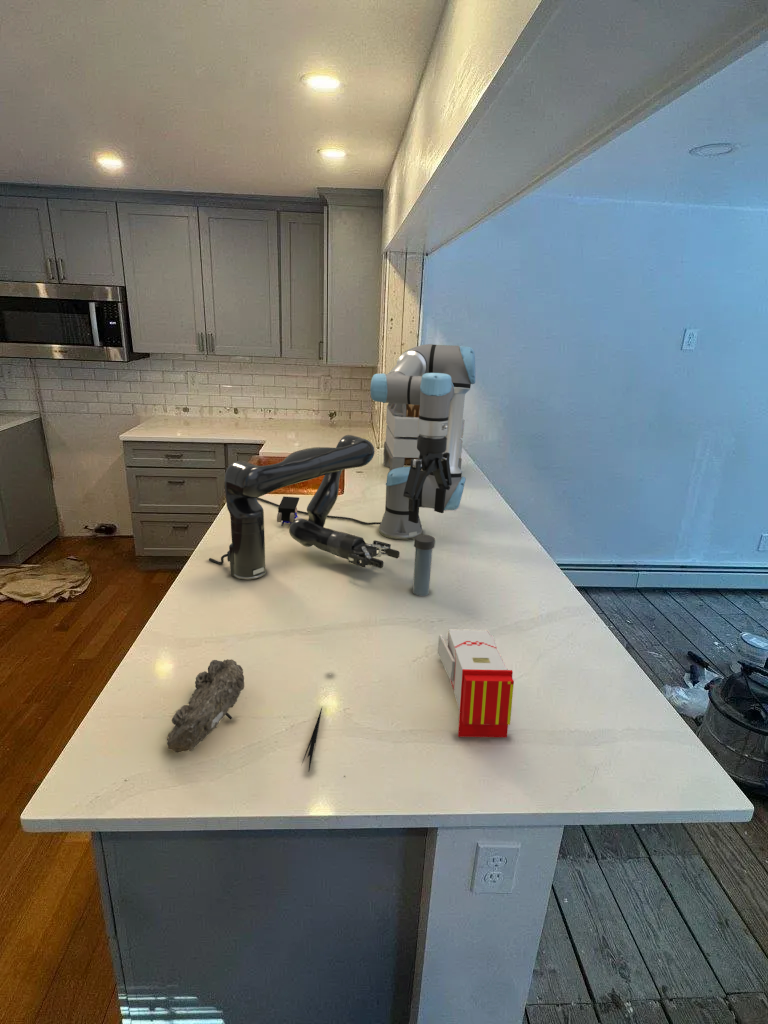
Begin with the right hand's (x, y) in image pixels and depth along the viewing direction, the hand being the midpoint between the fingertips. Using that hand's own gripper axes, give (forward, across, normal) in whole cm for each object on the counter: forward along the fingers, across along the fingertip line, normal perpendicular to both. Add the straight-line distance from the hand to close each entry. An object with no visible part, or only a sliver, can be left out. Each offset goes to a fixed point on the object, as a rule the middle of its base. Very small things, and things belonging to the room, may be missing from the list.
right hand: (426, 516), depth 152 cm
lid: (+7, 0, 0) cm, 7 cm away
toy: (+23, -28, -35) cm, 50 cm away
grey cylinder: (+23, 0, 0) cm, 23 cm away
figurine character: (+23, +8, +67) cm, 71 cm away
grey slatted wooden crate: (+23, +96, +76) cm, 125 cm away
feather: (+23, -55, -18) cm, 63 cm away
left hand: (+16, -1, +10) cm, 19 cm away
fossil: (+23, -69, -3) cm, 73 cm away
